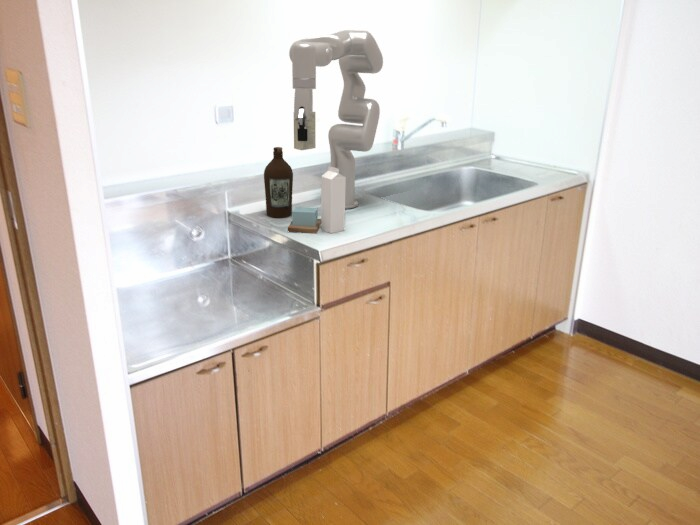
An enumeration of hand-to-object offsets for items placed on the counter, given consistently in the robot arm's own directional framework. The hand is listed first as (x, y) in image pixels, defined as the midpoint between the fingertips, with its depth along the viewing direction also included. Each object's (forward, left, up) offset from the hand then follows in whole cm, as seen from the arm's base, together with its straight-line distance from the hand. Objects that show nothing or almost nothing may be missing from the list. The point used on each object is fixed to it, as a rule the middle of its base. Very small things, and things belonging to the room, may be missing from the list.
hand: (304, 138), depth 206 cm
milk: (+1, +10, -31) cm, 33 cm away
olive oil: (-14, -12, -31) cm, 36 cm away
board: (0, 0, -31) cm, 31 cm away
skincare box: (0, 0, -4) cm, 4 cm away
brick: (0, 0, -30) cm, 30 cm away
